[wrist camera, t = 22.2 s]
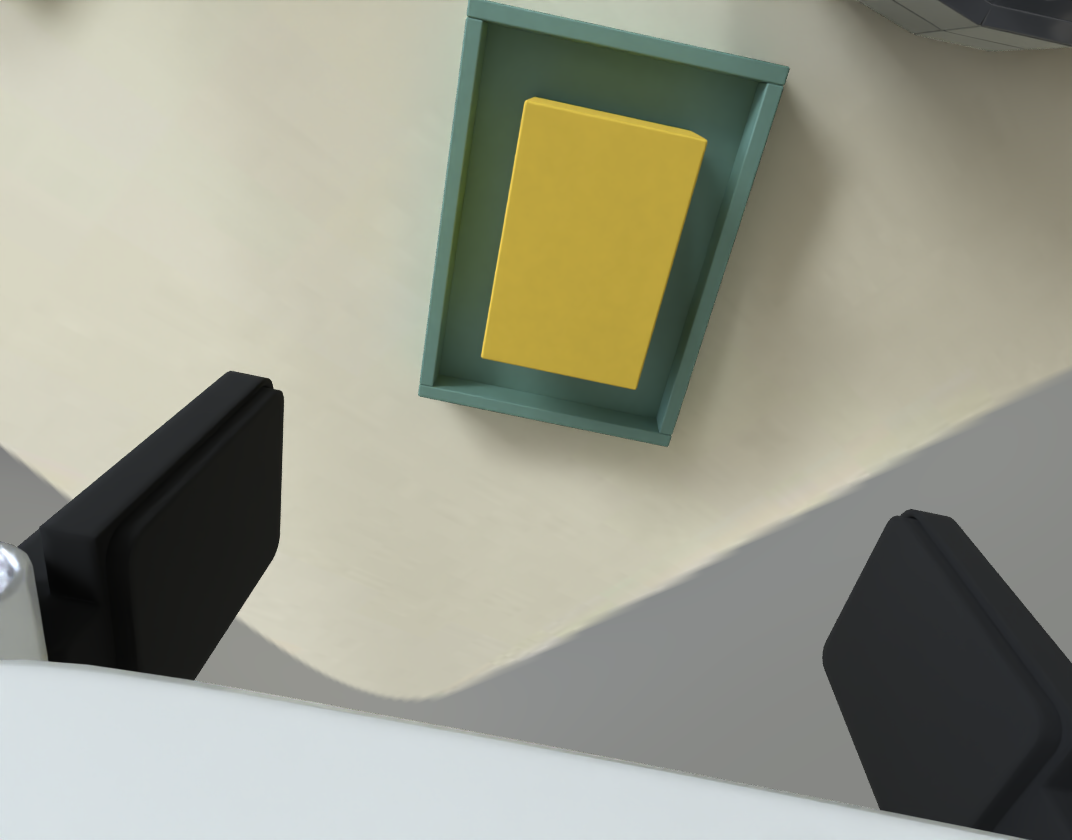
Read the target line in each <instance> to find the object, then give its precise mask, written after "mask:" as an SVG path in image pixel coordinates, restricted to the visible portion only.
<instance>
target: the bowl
mask: <svg viewBox="0 0 1072 840" xmlns="http://www.w3.org/2000/svg"><path fill="white" fill-rule="evenodd" d="M857 1H859V2H860V3H862V4H864V5H865V6H867V7H869V8H870V9H872V10H874V11H875V12H877V13H879V14H880V15H882V16H884V17H885V18H887V19H889V20H890V21H892V22H893V23H895V24H897V25H898V26H900V27H902V28H903V29H905V30H907V31H908V32H910V33H914V35H917V36H922V37H926V38H931V39H935V40H940V41H944V42H949V43H953V44H958V45H962V46H967V47H971V48H976V49H980V50H985V51H994V52H996V51H1014V50H1033V49H1051V48H1069V47H1072V0H857Z"/></svg>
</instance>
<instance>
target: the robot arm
mask: <svg viewBox="0 0 1072 840" xmlns="http://www.w3.org/2000/svg"><path fill="white" fill-rule="evenodd" d="M283 416H284V396H283V393H282V391H280V390H275V389H273V384H272V381H271V380H270V379H269V378H264V377H259V376H254V375H249V374H244V373H239V372H234V371H229V372H227V373H225V374H224V375H223V376H222V377H220V378H219V379H218V380H217V381H216V382H214V383H213V384H212V385H211V386H210V387H208V388H207V389H206V390H205V391H203V392H202V393H201V394H200V395H199V396H197V397H196V398H195V399H194V400H193V401H191V402H190V403H189V404H188V405H187V406H185V407H184V408H183V409H182V410H180V411H179V412H178V413H177V414H176V415H174V416H173V417H172V418H171V419H170V420H168V421H167V422H166V423H165V424H164V425H162V426H161V427H160V428H159V429H157V430H156V431H155V432H154V433H153V434H151V435H150V436H149V437H148V438H147V439H145V440H144V441H143V442H142V443H141V444H139V445H138V446H137V447H136V448H134V449H133V450H132V451H131V452H130V453H128V454H127V455H126V456H125V457H124V458H122V459H121V460H120V461H119V462H118V463H116V464H115V465H114V466H113V467H111V468H110V469H109V470H108V471H107V472H105V473H104V474H103V475H102V476H101V477H99V478H98V479H97V480H96V481H95V482H93V483H92V484H91V485H90V486H88V487H87V488H86V489H85V490H84V491H82V492H81V493H80V494H79V495H78V496H76V497H75V498H74V499H73V500H72V501H70V502H69V503H68V504H67V505H66V506H64V507H63V508H62V509H61V510H59V511H58V512H57V513H56V514H55V515H53V516H52V517H51V518H50V519H49V520H47V521H46V522H45V523H44V524H42V525H41V526H40V528H39V529H38V530H37V531H36V532H35V533H33V534H32V535H31V536H30V537H29V538H28V539H26V540H25V541H24V542H23V543H21V544H20V545H19V546H18V547H16V546H14V545H12V544H9V543H5V542H1V541H0V840H1072V663H1071V662H1070V661H1069V659H1068V658H1067V657H1066V656H1065V654H1064V653H1063V652H1062V651H1061V650H1060V648H1059V647H1058V646H1057V645H1056V644H1055V642H1054V641H1053V640H1052V639H1051V638H1050V636H1049V635H1048V634H1047V633H1046V631H1045V630H1044V629H1043V628H1042V626H1041V625H1040V624H1039V623H1038V622H1037V621H1036V619H1035V618H1034V617H1033V616H1032V614H1031V613H1030V612H1029V611H1028V609H1027V608H1026V607H1025V606H1024V604H1023V603H1022V602H1021V601H1020V600H1019V598H1018V597H1017V596H1016V595H1015V593H1014V592H1013V591H1012V590H1011V589H1010V587H1009V586H1008V585H1007V584H1006V583H1005V581H1004V580H1003V579H1002V578H1001V576H1000V575H999V574H998V573H997V572H996V570H995V569H994V568H993V567H992V565H990V563H989V562H988V561H987V559H986V558H985V557H984V556H983V555H982V553H981V552H980V551H979V550H978V548H977V547H976V546H975V545H974V543H973V542H972V541H971V540H970V539H969V537H968V536H967V535H966V534H965V533H964V531H963V530H962V529H961V528H960V527H959V525H958V524H957V523H956V522H955V521H954V520H953V519H952V518H950V517H947V516H942V515H938V514H933V513H928V512H923V511H918V510H913V509H910V510H907V511H905V512H904V513H903V514H901V516H894V517H892V518H891V519H890V520H889V521H888V523H887V525H886V527H885V528H884V531H883V532H882V534H881V536H880V538H879V540H878V542H877V544H876V546H875V548H874V550H873V552H872V553H871V555H870V557H869V559H868V561H867V563H866V565H865V567H864V569H863V571H862V573H861V575H860V577H859V579H858V580H857V582H856V584H855V586H854V588H853V590H852V592H851V594H850V596H849V598H848V600H847V602H846V604H845V606H844V608H843V610H842V612H841V614H840V616H839V617H838V619H837V621H836V623H835V625H834V627H833V629H832V631H831V633H830V635H829V637H828V639H827V640H826V643H825V645H824V649H823V657H822V659H823V666H824V669H825V672H826V674H827V677H828V680H829V682H830V684H831V687H832V690H833V692H834V695H835V697H836V700H837V702H838V704H839V707H840V710H841V712H842V715H843V717H844V720H845V722H846V725H847V727H848V730H849V732H850V735H851V738H852V740H853V742H854V745H855V748H856V750H857V753H858V755H859V758H860V760H861V763H862V765H863V768H864V770H865V773H866V775H867V778H868V780H869V783H870V785H871V788H872V790H873V793H874V796H875V798H876V800H877V803H878V806H879V808H880V810H877V809H872V808H867V807H862V806H857V805H852V804H847V803H842V802H837V801H832V800H827V799H821V798H816V797H812V796H806V795H802V794H796V793H791V792H786V791H781V790H776V789H771V788H766V787H761V786H756V785H750V784H745V783H740V782H735V781H730V780H725V779H719V778H714V777H709V776H704V775H699V774H694V773H688V772H683V771H678V770H673V769H668V768H662V767H657V766H652V765H646V764H641V763H636V762H631V761H626V760H621V759H615V758H610V757H605V756H600V755H594V754H589V753H584V752H578V751H573V750H568V749H563V748H558V747H552V746H547V745H542V744H537V743H531V742H526V741H521V740H515V739H510V738H505V737H500V736H494V735H489V734H483V733H478V732H473V731H467V730H462V729H457V728H451V727H446V726H440V725H435V724H429V723H424V722H418V721H413V720H407V719H403V718H397V717H392V716H386V715H380V714H376V713H370V712H365V711H359V710H354V709H348V708H343V707H338V706H333V705H327V704H321V703H316V702H311V701H306V700H300V699H294V698H289V697H283V696H278V695H273V694H267V693H262V692H256V691H250V690H245V689H240V688H234V687H229V686H223V685H217V684H213V683H207V682H201V681H194V680H195V678H196V677H197V675H198V674H199V672H200V671H201V669H202V668H203V666H204V664H205V663H206V661H207V660H208V658H209V656H210V655H211V654H212V652H213V651H214V649H215V648H216V646H217V644H218V643H219V641H220V640H221V638H222V637H223V635H224V634H225V632H226V631H227V629H228V628H229V626H230V624H231V623H232V621H233V620H234V618H235V617H236V615H237V614H238V612H239V611H240V609H241V608H242V606H243V604H244V603H245V601H246V600H247V598H248V597H249V595H250V594H251V592H252V591H253V589H254V587H255V586H256V584H257V583H258V581H259V580H260V578H261V577H262V575H263V574H264V572H265V571H266V569H267V567H268V566H269V564H270V563H271V561H272V560H273V558H274V556H275V553H276V551H277V548H278V544H279V539H280V516H281V483H282V449H283Z"/></svg>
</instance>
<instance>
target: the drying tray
mask: <svg viewBox="0 0 1072 840" xmlns="http://www.w3.org/2000/svg"><path fill="white" fill-rule="evenodd" d="M467 16H468V17H467V18H466V24H465V32H464V39H463V47H462V55H461V63H460V71H459V79H458V87H457V94H456V102H455V110H454V118H453V126H452V134H451V141H450V149H449V157H448V165H447V173H446V181H445V188H444V196H443V204H442V212H441V220H440V228H439V235H438V243H437V251H436V259H435V267H434V275H433V282H432V290H431V298H430V306H429V314H428V322H427V329H426V337H425V345H424V353H423V361H422V369H421V376H420V385H419V392H418V395H419V396H420V397H425V398H430V399H435V400H440V401H445V402H450V403H454V404H459V405H464V406H469V407H474V408H479V409H484V410H489V411H494V412H499V413H504V414H508V415H513V416H518V417H523V418H528V419H533V420H538V421H543V422H548V423H553V424H558V425H562V426H567V427H572V428H577V429H582V430H587V431H592V432H597V433H602V434H607V435H612V436H616V437H621V438H626V439H631V440H636V441H641V442H646V443H651V444H656V445H661V446H666V447H668V446H669V443H670V440H671V435H672V433H673V430H674V427H675V424H676V421H677V418H678V415H679V412H680V408H681V405H682V402H683V399H684V396H685V393H686V390H687V387H688V384H689V380H690V377H691V374H692V371H693V368H694V365H695V362H696V359H697V356H698V352H699V349H700V346H701V343H702V340H703V337H704V334H705V331H706V328H707V324H708V321H709V318H710V315H711V312H712V309H713V306H714V303H715V300H716V297H717V293H718V290H719V287H720V284H721V281H722V278H723V275H724V272H725V269H726V265H727V262H728V259H729V256H730V253H731V250H732V247H733V244H734V241H735V237H736V234H737V231H738V228H739V225H740V222H741V219H742V216H743V213H744V209H745V206H746V203H747V200H748V197H749V194H750V191H751V188H752V185H753V181H754V178H755V175H756V172H757V169H758V166H759V163H760V160H761V157H762V153H763V150H764V147H765V144H766V141H767V138H768V135H769V132H770V129H771V125H772V122H773V119H774V116H775V113H776V110H777V107H778V104H779V101H780V98H781V94H782V91H783V85H784V84H785V82H786V79H787V76H788V73H789V70H790V69H789V67H788V66H783V65H779V64H774V63H770V62H765V61H760V60H756V59H751V58H747V57H742V56H738V55H733V54H729V53H724V52H719V51H715V50H710V49H706V48H701V47H697V46H692V45H687V44H683V43H678V42H674V41H669V40H665V39H660V38H656V37H651V36H646V35H642V34H637V33H633V32H628V31H624V30H619V29H614V28H610V27H605V26H601V25H596V24H592V23H587V22H583V21H578V20H573V19H569V18H564V17H560V16H555V15H551V14H546V13H541V12H537V11H532V10H528V9H523V8H519V7H514V6H510V5H505V4H500V3H496V2H491V1H487V0H468V8H467ZM535 96H538V97H543V98H547V99H552V100H556V101H561V102H566V103H570V104H575V105H579V106H584V107H588V108H593V109H598V110H602V111H607V112H611V113H616V114H620V115H625V116H630V117H634V118H639V119H643V120H648V121H653V122H657V123H662V124H666V125H671V126H675V127H680V128H685V129H689V130H690V131H692V132H694V133H696V134H698V135H699V136H701V137H703V138H705V139H706V140H707V146H706V150H705V153H704V157H703V160H702V164H701V167H700V171H699V174H698V178H697V181H696V185H695V188H694V191H693V195H692V198H691V202H690V205H689V209H688V212H687V216H686V219H685V223H684V226H683V230H682V233H681V237H680V240H679V244H678V247H677V251H676V254H675V257H674V261H673V264H672V268H671V271H670V275H669V278H668V282H667V285H666V289H665V292H664V296H663V299H662V303H661V306H660V310H659V313H658V317H657V320H656V323H655V327H654V330H653V334H652V337H651V341H650V344H649V348H648V351H647V355H646V358H645V362H644V365H643V369H642V372H641V376H640V379H639V383H638V386H637V389H636V390H632V389H628V388H623V387H618V386H613V385H608V384H604V383H599V382H594V381H589V380H584V379H579V378H575V377H570V376H565V375H560V374H555V373H551V372H546V371H541V370H536V369H531V368H527V367H522V366H517V365H512V364H507V363H502V362H498V361H493V360H488V359H483V358H482V357H481V353H482V347H483V341H484V335H485V330H486V324H487V318H488V312H489V306H490V300H491V294H492V289H493V283H494V277H495V271H496V265H497V259H498V253H499V248H500V242H501V236H502V230H503V224H504V218H505V213H506V207H507V201H508V195H509V189H510V183H511V177H512V172H513V166H514V160H515V154H516V148H517V142H518V137H519V131H520V125H521V119H522V113H523V107H524V102H525V101H526V100H528V99H531V98H533V97H535Z"/></svg>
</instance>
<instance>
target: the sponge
mask: <svg viewBox="0 0 1072 840" xmlns="http://www.w3.org/2000/svg"><path fill="white" fill-rule="evenodd" d="M706 146H707V140H706V139H705V138H703V137H701V136H699V135H698V134H696V133H694V132H692V131H690V130H689V129H685V128H680V127H675V126H671V125H666V124H662V123H657V122H653V121H648V120H643V119H639V118H634V117H630V116H625V115H620V114H616V113H611V112H607V111H602V110H598V109H593V108H588V107H584V106H579V105H575V104H570V103H566V102H561V101H556V100H552V99H547V98H543V97H538V96H535V97H533V98H531V99H528V100H526V101H525V102H524V107H523V113H522V119H521V125H520V131H519V137H518V142H517V148H516V154H515V160H514V166H513V172H512V177H511V183H510V189H509V195H508V201H507V207H506V213H505V218H504V224H503V230H502V236H501V242H500V248H499V253H498V259H497V265H496V271H495V277H494V283H493V289H492V294H491V300H490V306H489V312H488V318H487V324H486V330H485V335H484V341H483V347H482V353H481V357H482V358H483V359H488V360H493V361H498V362H502V363H507V364H512V365H517V366H522V367H527V368H531V369H536V370H541V371H546V372H551V373H555V374H560V375H565V376H570V377H575V378H579V379H584V380H589V381H594V382H599V383H604V384H608V385H613V386H618V387H623V388H628V389H632V390H636V389H637V386H638V383H639V379H640V376H641V372H642V369H643V365H644V362H645V358H646V355H647V351H648V348H649V344H650V341H651V337H652V334H653V330H654V327H655V323H656V320H657V317H658V313H659V310H660V306H661V303H662V299H663V296H664V292H665V289H666V285H667V282H668V278H669V275H670V271H671V268H672V264H673V261H674V257H675V254H676V251H677V247H678V244H679V240H680V237H681V233H682V230H683V226H684V223H685V219H686V216H687V212H688V209H689V205H690V202H691V198H692V195H693V191H694V188H695V185H696V181H697V178H698V174H699V171H700V167H701V164H702V160H703V157H704V153H705V150H706Z"/></svg>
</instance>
